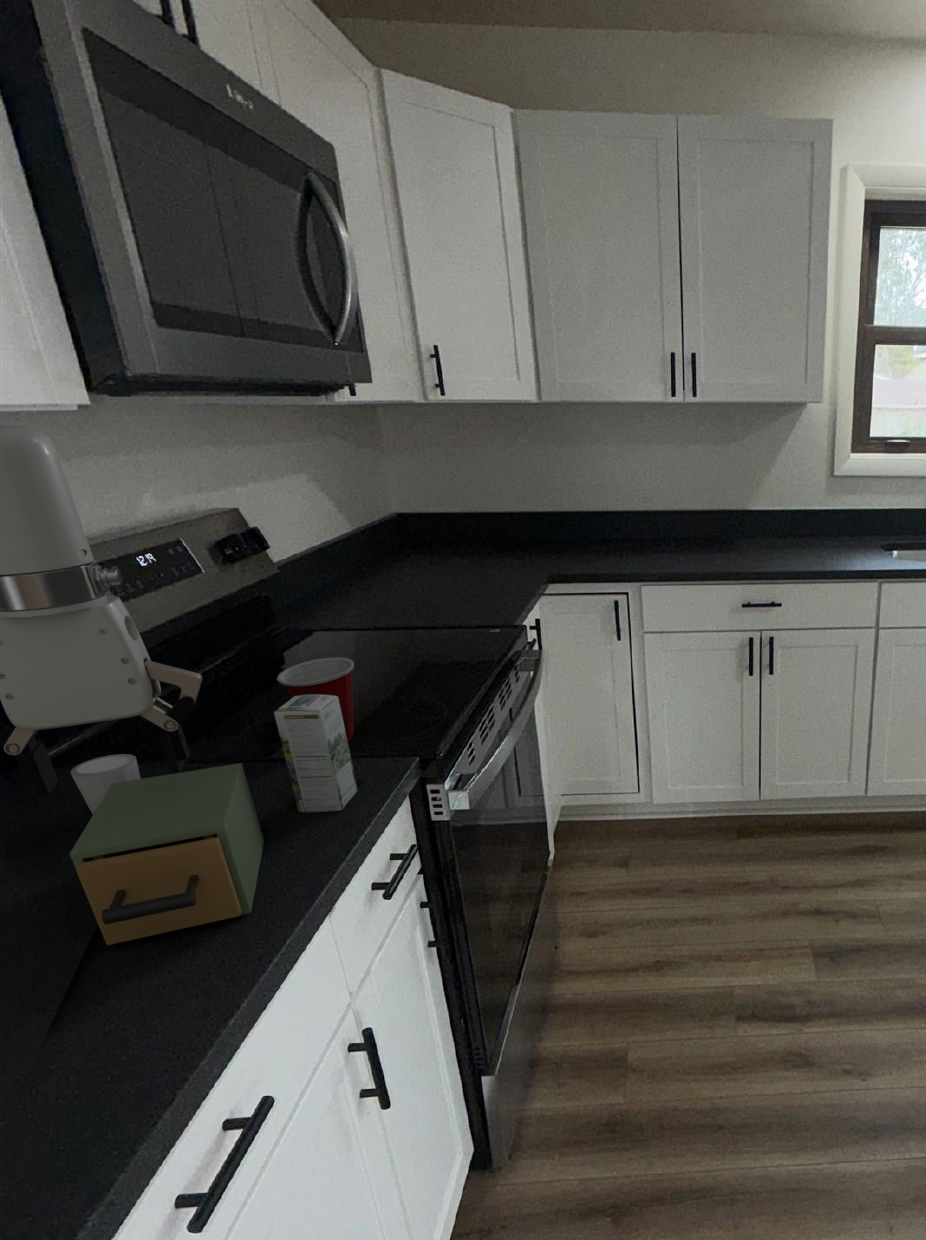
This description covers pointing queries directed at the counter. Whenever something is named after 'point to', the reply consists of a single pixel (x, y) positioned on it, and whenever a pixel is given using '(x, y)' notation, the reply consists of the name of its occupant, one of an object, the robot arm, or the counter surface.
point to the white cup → (103, 776)
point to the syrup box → (316, 752)
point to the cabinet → (181, 820)
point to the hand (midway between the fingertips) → (115, 778)
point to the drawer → (159, 888)
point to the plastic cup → (323, 683)
